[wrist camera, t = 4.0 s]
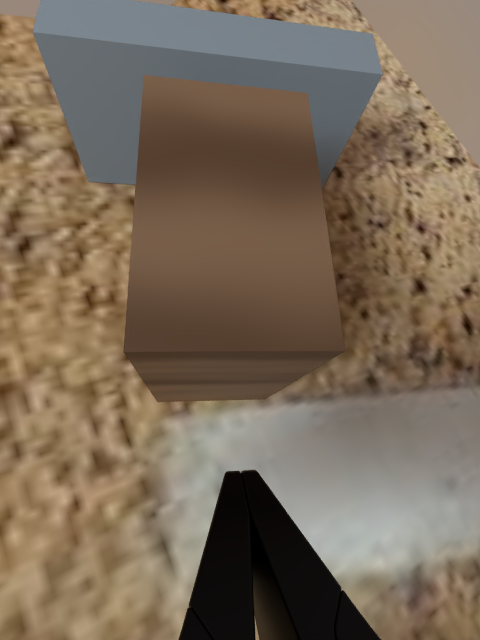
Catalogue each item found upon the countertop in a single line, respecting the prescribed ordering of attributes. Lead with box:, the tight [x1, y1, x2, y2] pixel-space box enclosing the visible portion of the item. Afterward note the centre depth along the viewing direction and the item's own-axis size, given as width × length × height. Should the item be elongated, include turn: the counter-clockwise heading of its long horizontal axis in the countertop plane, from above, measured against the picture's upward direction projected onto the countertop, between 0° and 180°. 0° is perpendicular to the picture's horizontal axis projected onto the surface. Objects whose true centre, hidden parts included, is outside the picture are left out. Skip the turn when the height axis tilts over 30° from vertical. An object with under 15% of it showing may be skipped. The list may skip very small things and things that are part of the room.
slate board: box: [33, 0, 383, 189], centre depth 21 cm, size 3×16×9 cm, turn 92°
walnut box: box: [124, 75, 345, 402], centre depth 16 cm, size 10×6×11 cm, turn 2°
